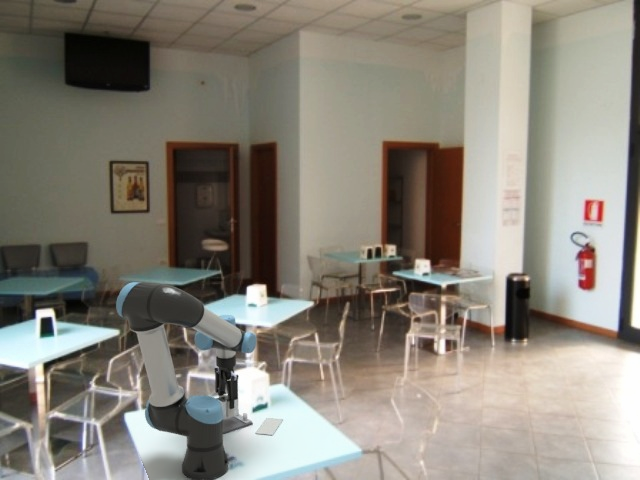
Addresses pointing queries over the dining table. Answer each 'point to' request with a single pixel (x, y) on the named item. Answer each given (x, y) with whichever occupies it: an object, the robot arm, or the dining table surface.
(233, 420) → the grey knobbed plate
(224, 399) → the block
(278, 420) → the smartphone
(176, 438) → the dining table surface
